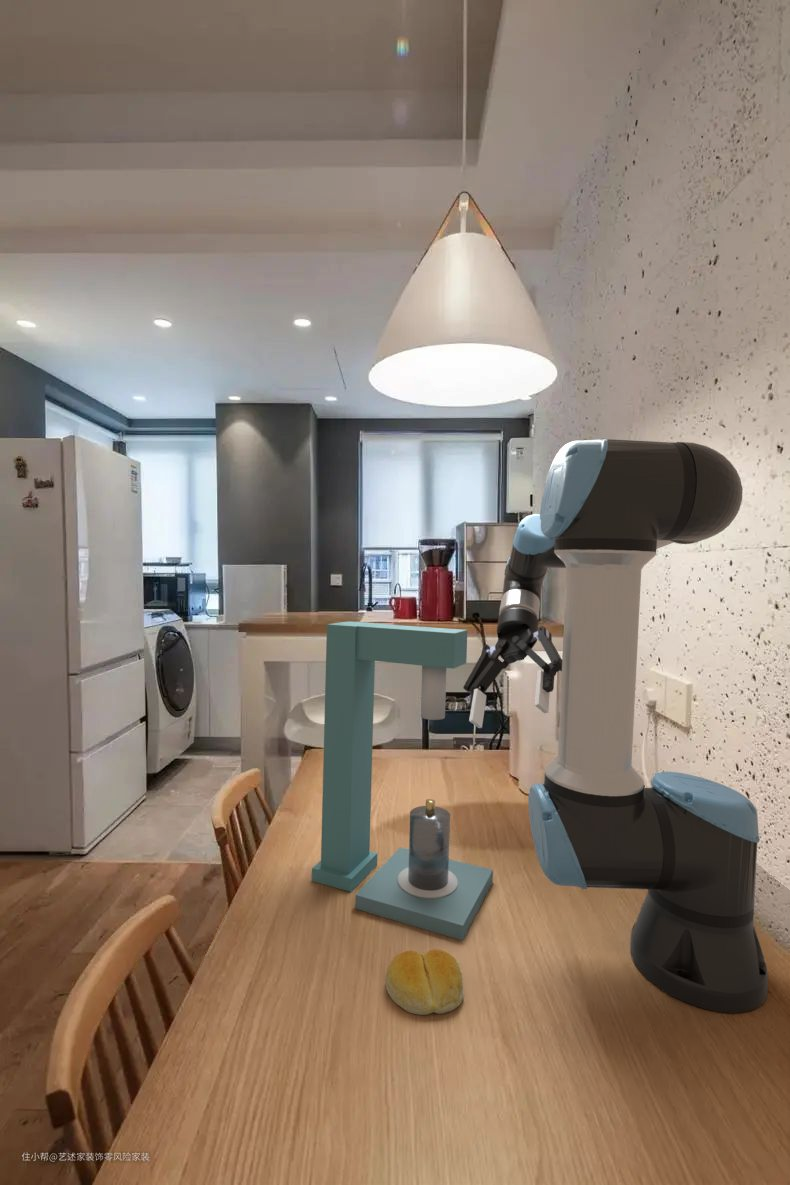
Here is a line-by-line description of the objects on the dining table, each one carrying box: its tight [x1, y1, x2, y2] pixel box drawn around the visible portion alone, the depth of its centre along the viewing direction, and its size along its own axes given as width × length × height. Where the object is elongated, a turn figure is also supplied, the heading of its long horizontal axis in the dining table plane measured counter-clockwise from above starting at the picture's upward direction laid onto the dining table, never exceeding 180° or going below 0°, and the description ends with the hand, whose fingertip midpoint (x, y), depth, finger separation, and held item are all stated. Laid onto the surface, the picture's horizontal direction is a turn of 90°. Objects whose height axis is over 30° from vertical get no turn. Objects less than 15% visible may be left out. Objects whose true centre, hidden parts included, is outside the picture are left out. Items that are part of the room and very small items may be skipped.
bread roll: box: [385, 949, 465, 1016], centre depth 66 cm, size 8×9×4 cm
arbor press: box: [311, 621, 494, 941], centre depth 87 cm, size 26×16×40 cm, turn 66°
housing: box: [408, 798, 451, 891], centre depth 86 cm, size 6×6×12 cm
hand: (506, 717), depth 96 cm, fingers open, 13 cm apart
